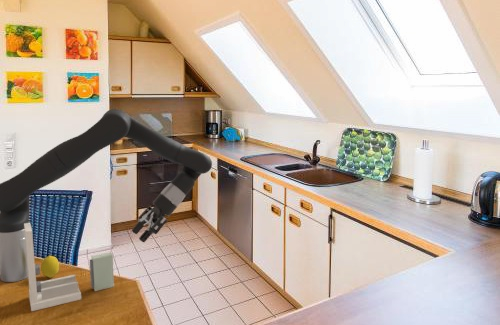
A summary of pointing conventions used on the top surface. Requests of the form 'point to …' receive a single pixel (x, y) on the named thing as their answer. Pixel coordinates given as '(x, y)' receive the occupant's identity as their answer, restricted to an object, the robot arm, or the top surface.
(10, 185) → the robot arm
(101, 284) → the pale green slab
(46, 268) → the lemon
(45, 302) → the white tall l-shaped piece
